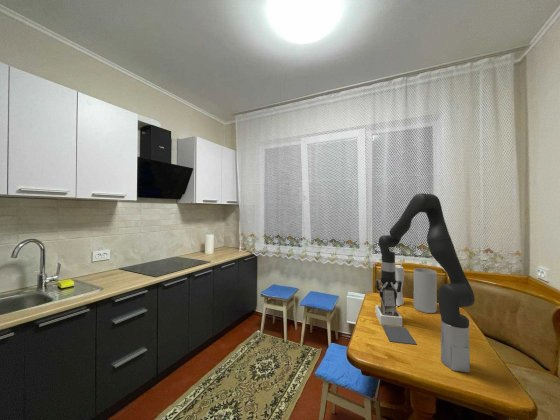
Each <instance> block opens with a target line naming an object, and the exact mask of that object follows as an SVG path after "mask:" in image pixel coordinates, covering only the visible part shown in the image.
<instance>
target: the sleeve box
mask: <svg viewBox="0 0 560 420" xmlns="http://www.w3.org/2000/svg"><path fill="white" fill-rule="evenodd" d="M374 307H375V309H374V310H375V312H374V313H376V314H375V315H376V318H377V319H378V323H379V325H381V326H382V325H383V326H393V327H402V328H403V317H402V315H401V314H400V312H399V311H398V309H396V316H386V315H382V313H381V305H376V304H375V306H374Z"/></svg>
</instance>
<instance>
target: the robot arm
mask: <svg viewBox="0 0 560 420" xmlns="http://www.w3.org/2000/svg"><path fill="white" fill-rule="evenodd" d="M419 213H425V215H426V216H427V219H428V223H429V228H428V230H427V235H426V242H427V245H428V249H429V252H430V254H431V256H432V258H433V259H434V260H435V261H436V263H438V264H439V265H440V266H441V268H442V269H443V270H444V271H445V273H446V274H447V276H448V278H449V283H443V284H441V285H440V286H439V288H438V290H437V291H438V292H437V298H438V299H437V300H438V313H439V314H440V361H441V363H442V364H443V365H444V366H446V367H447V368H448V369H451V371H453V372H454V371H455V372H461V373H462V372H463V373H470V372H471V371H470V368H471V367H470V364H471V363H470V362H471V356H470V355H471V353H470V352H471V349H470V320H469V318H468V317H467V316H466V315H464V314H462V313H461V312H460V308H466V307H471V306H473V305H474V304H475V294H474V291H473V289H472V287H471V284H470V282H469V280H468V278H467V277H466V274H465V272H464V269H463V267H462V265H461V263H460V260H459V257H458V255H457V252H456V249H455V246H454V242H453V241H452V240H453V239H452V238H451V235H450V232H449V229H448V226H447V224H446V220H445V218H444V217H445V216H444V212H443V208H442V204H441V201H440V198H439V197H438V196H437V195H436V194H433V193H432V194H431V193H425V192H424V193H422V192H421V193H417V194H415V195H413V196H412V198H411V200H410V201H409V202H408V204H407V206H406V207H405V208H404V211H403V212H402V214H401V215H400V217H399V219H398V220H397V221H396V223H394V224H393V226H391V228H390V230H389V234H388V235H385V234H384V235H380V237H379V238H378V246H379V251H380V254H381V262H380V263H381V266H380V279H377V278H376V279H375V280H374V281H375V288H376V290H377V291H379V298H380V299H381V298H383V292H382V291H383V289H385V287H390V288H393V289H395V290H396V298H397V292H401V285H402V282H401V281H396V279H395V278H396V271H395V270H396V268H395V266H396V264H395V263H396V254H395V252H394V251H391V250H390V248H395V247H396V246H398V245H399V244H400V242H401V240H402V237H403V236H404V235H406V233H408V232H409V230H410V228H411V225H412V221H413V218H415V217H416V216H417V215H418V214H419ZM380 283H381V285H379V284H380ZM396 283H397V284H398V287H397V289H396V288H395V286H394V285H395V284H396Z"/></svg>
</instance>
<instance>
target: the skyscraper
mask: <svg viewBox="0 0 560 420" xmlns="http://www.w3.org/2000/svg"><path fill="white" fill-rule="evenodd" d="M399 264H400V265H399ZM402 265H403V263H402V262H400V261H399V262H395V268H396V270H395V271H396V278H395V279H396V281H401V282H402V285H401V292H397V298H396V306H399V307H401V306H400V305H402V306H404V305H405V303H404V296H403V286H404V281H405V271H404V267H403V266H402ZM394 286H395V288H396V289H397V287H398V284H397V283H396V284H395V285H394ZM403 304H404V305H403Z"/></svg>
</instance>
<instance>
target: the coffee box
mask: <svg viewBox="0 0 560 420" xmlns="http://www.w3.org/2000/svg"><path fill="white" fill-rule="evenodd" d="M382 292H383V298H381V297H380V306H381V313H382V315H386V316H396V310H397V307H396V290H395V289H393V288H390V287H385V289H383V291H382Z"/></svg>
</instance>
